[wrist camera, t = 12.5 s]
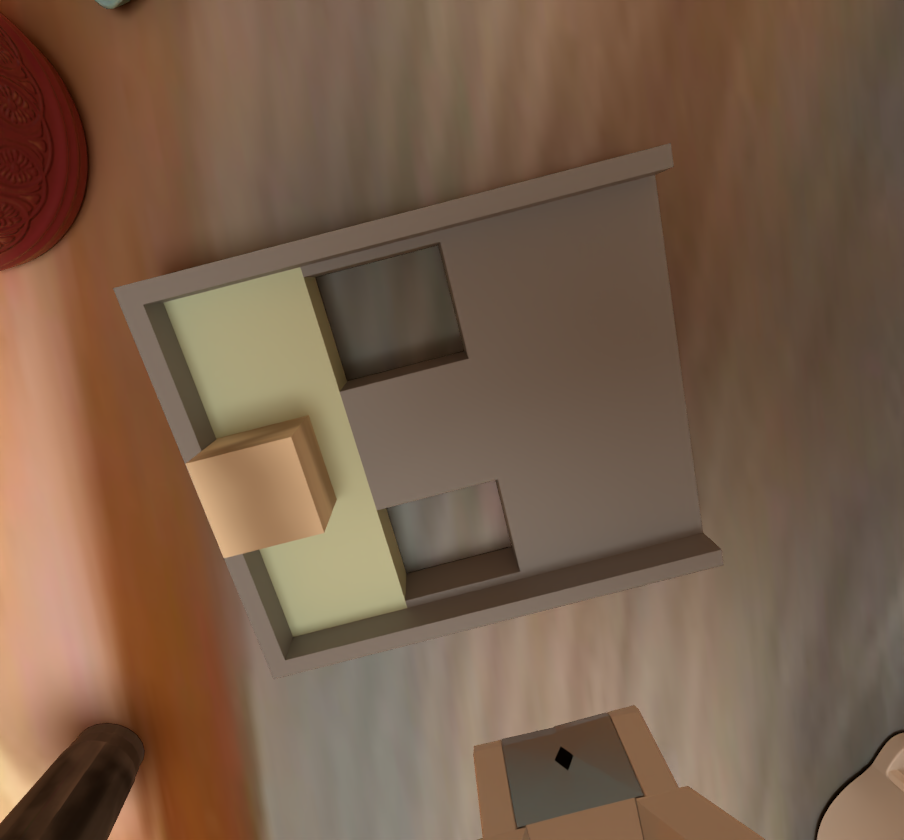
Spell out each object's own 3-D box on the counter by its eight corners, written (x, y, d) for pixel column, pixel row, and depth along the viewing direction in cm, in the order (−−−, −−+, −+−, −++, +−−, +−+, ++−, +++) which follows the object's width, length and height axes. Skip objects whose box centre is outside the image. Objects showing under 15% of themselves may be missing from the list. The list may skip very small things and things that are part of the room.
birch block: (308, 415, 28) (291, 437, 24) (336, 499, 30) (324, 532, 26) (217, 438, 28) (185, 463, 24) (249, 521, 30) (223, 558, 26)
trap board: (628, 165, 29) (670, 143, 24) (681, 525, 35) (723, 565, 30) (164, 286, 29) (113, 288, 24) (293, 623, 35) (273, 679, 30)
